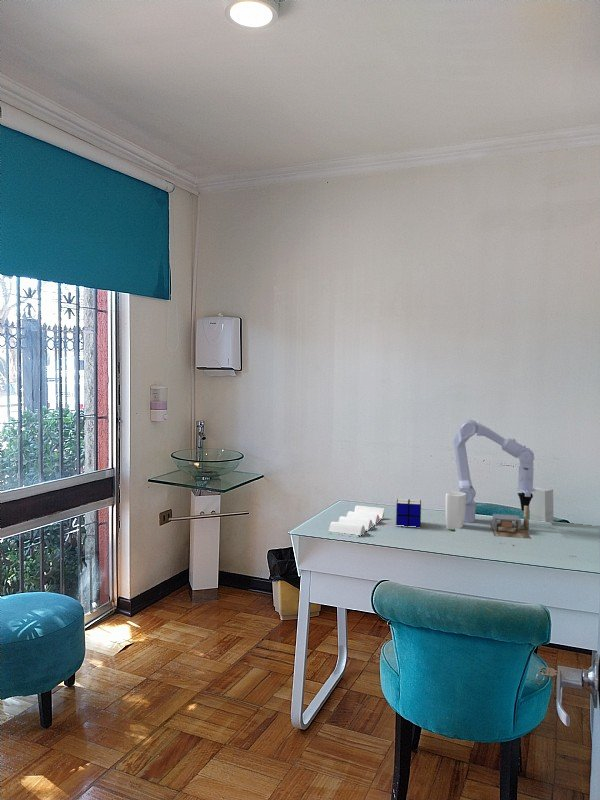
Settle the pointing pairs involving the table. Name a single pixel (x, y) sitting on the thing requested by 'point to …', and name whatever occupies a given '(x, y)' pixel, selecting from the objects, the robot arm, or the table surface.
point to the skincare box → (542, 505)
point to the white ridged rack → (357, 520)
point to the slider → (513, 528)
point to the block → (506, 523)
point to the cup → (455, 509)
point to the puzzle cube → (408, 512)
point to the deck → (512, 533)
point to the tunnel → (506, 518)
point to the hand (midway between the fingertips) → (524, 510)
